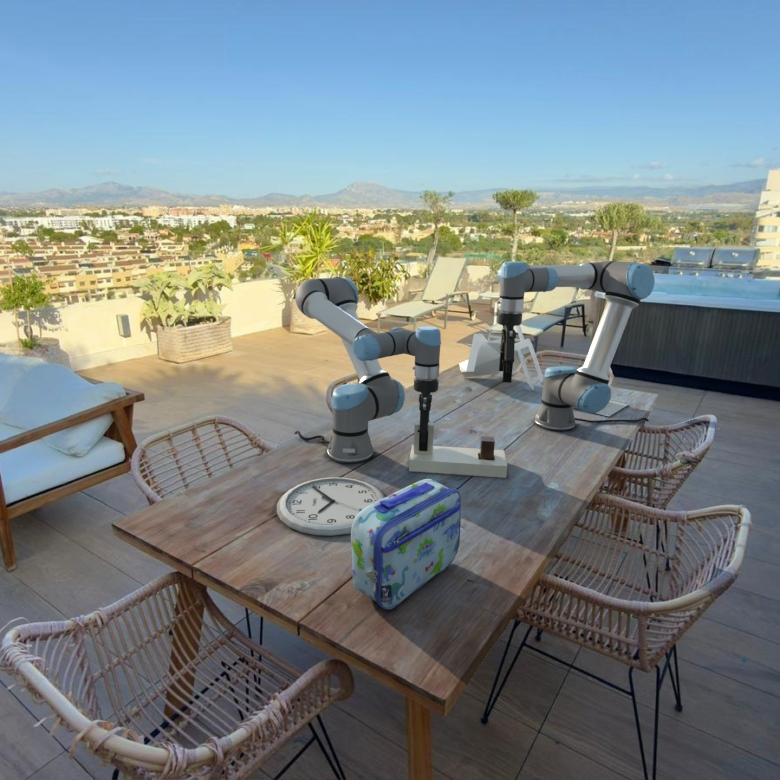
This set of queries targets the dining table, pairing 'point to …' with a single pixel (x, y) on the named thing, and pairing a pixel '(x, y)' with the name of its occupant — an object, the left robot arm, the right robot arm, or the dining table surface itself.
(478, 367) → the white plastic object
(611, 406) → the invitation card
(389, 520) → the lunch box
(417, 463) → the peg board
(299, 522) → the wall clock
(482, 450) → the peg
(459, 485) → the dining table surface
